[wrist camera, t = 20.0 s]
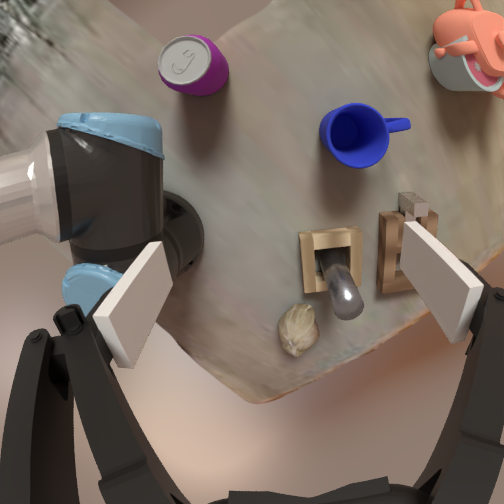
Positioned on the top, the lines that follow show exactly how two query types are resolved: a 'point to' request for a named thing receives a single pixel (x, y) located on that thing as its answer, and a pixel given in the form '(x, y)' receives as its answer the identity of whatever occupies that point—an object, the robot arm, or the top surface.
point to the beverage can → (193, 66)
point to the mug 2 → (461, 72)
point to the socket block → (396, 249)
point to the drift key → (412, 206)
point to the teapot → (473, 37)
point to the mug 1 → (358, 134)
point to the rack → (330, 239)
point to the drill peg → (340, 284)
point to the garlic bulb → (298, 329)
